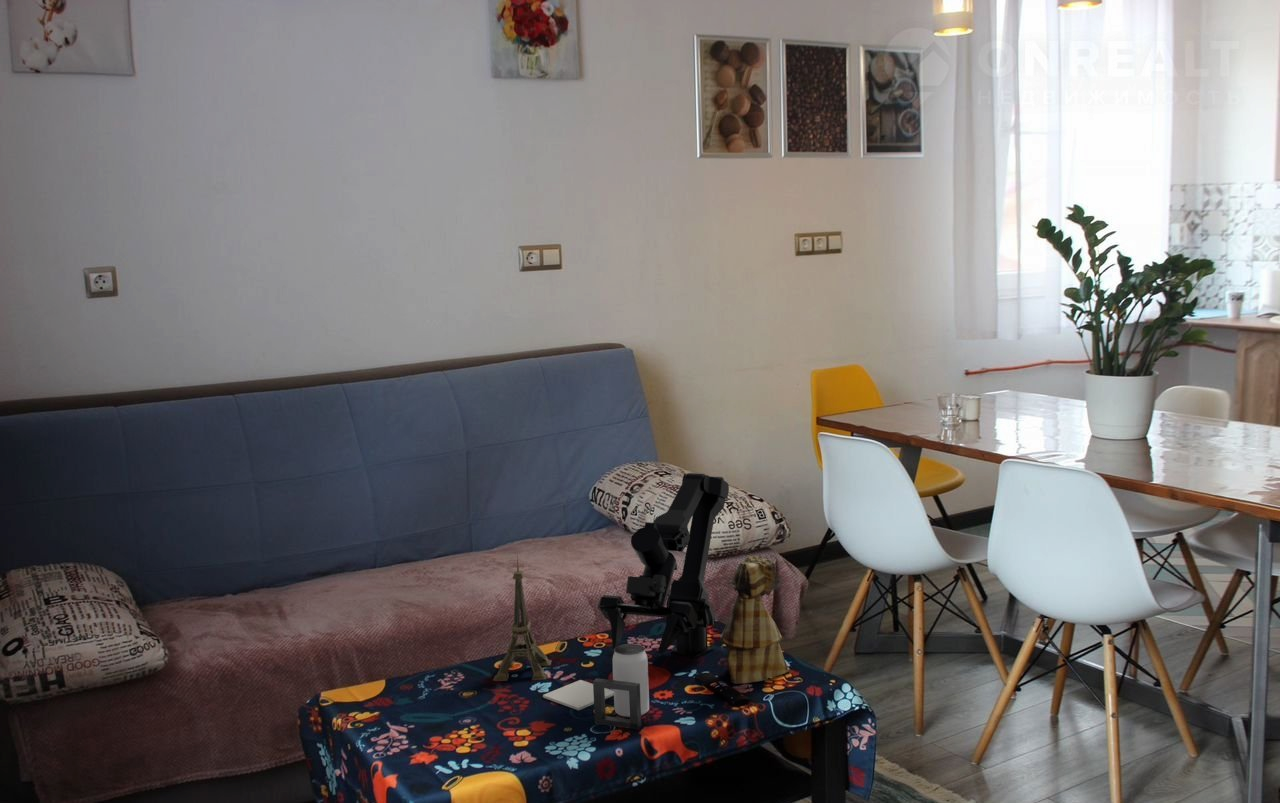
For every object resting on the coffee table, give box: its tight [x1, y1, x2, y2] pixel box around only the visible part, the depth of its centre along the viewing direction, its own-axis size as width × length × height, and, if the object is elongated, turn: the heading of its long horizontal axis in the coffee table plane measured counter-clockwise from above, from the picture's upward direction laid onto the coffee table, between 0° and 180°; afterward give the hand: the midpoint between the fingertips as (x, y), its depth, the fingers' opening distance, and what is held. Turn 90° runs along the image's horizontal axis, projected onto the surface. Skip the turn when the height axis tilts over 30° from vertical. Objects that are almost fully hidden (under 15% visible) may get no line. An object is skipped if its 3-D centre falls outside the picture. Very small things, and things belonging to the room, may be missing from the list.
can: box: [612, 643, 650, 718], centre depth 211 cm, size 6×6×12 cm
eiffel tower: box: [492, 555, 553, 682], centre depth 233 cm, size 11×11×25 cm
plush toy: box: [719, 555, 790, 685], centre depth 227 cm, size 14×14×25 cm
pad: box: [542, 679, 614, 711], centre depth 220 cm, size 10×10×1 cm
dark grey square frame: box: [592, 677, 642, 730], centre depth 206 cm, size 2×8×8 cm, turn 68°
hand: (636, 652), depth 214 cm, fingers open, 9 cm apart
